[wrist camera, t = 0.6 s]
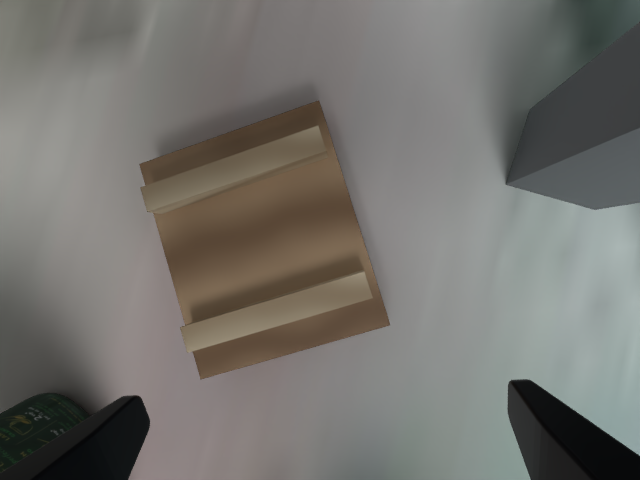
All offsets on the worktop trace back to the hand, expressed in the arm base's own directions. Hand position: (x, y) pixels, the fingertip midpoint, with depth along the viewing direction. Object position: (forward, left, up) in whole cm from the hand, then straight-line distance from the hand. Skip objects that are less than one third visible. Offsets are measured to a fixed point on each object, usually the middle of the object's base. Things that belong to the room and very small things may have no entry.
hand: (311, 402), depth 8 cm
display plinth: (+6, +2, -15) cm, 16 cm away
